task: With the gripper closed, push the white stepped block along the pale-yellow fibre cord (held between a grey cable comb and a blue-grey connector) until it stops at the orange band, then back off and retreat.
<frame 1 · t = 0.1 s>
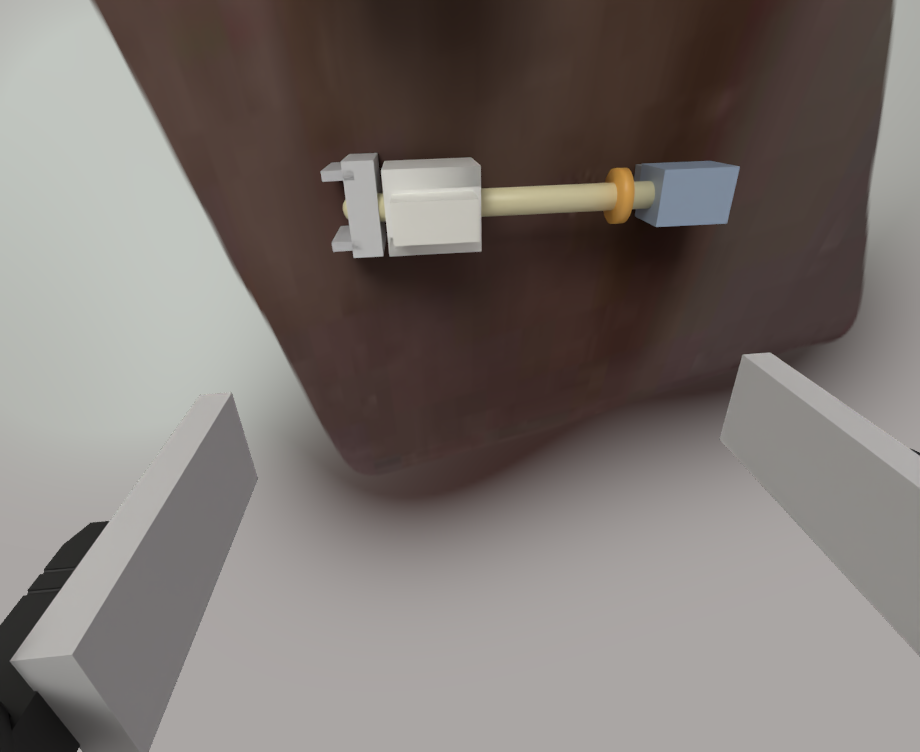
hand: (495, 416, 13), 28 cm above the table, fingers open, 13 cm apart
white stepped block: (432, 209, 32), point 5 cm above the table, slide at 0.0 cm
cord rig: (516, 191, 37), on the table
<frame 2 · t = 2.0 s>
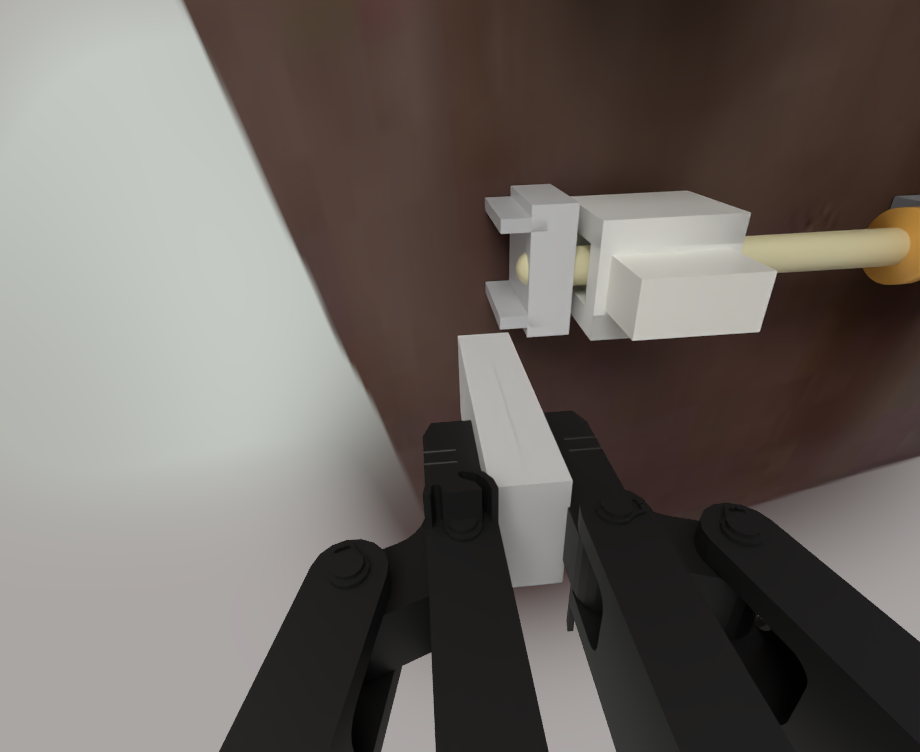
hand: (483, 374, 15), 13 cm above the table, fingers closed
white stepped block: (655, 271, 22), point 5 cm above the table, slide at 0.0 cm
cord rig: (727, 233, 27), on the table
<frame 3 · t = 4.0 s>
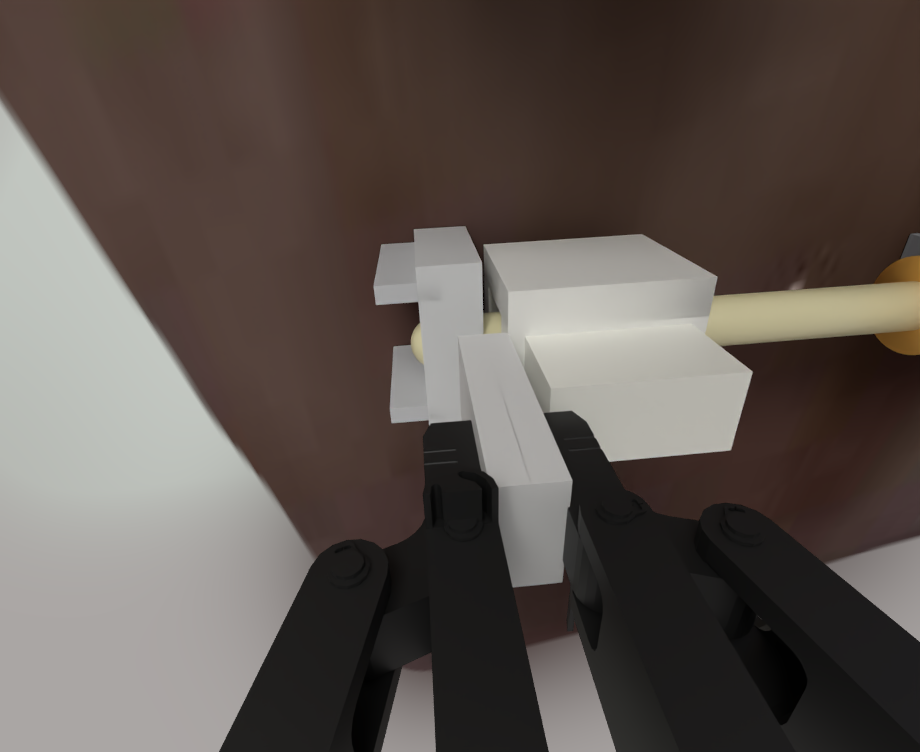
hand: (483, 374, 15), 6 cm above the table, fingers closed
white stepped block: (593, 350, 16), point 5 cm above the table, slide at 0.0 cm, touching gripper
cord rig: (699, 282, 21), on the table
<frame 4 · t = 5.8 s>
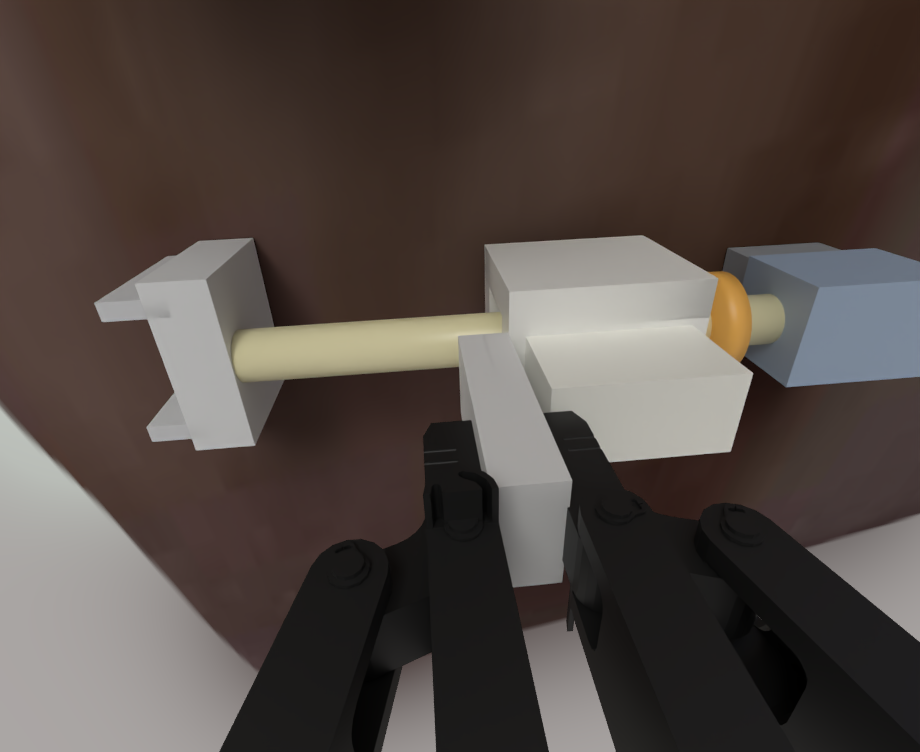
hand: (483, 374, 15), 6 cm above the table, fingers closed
white stepped block: (593, 351, 16), point 6 cm above the table, slide at 8.1 cm, touching gripper
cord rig: (513, 296, 21), on the table
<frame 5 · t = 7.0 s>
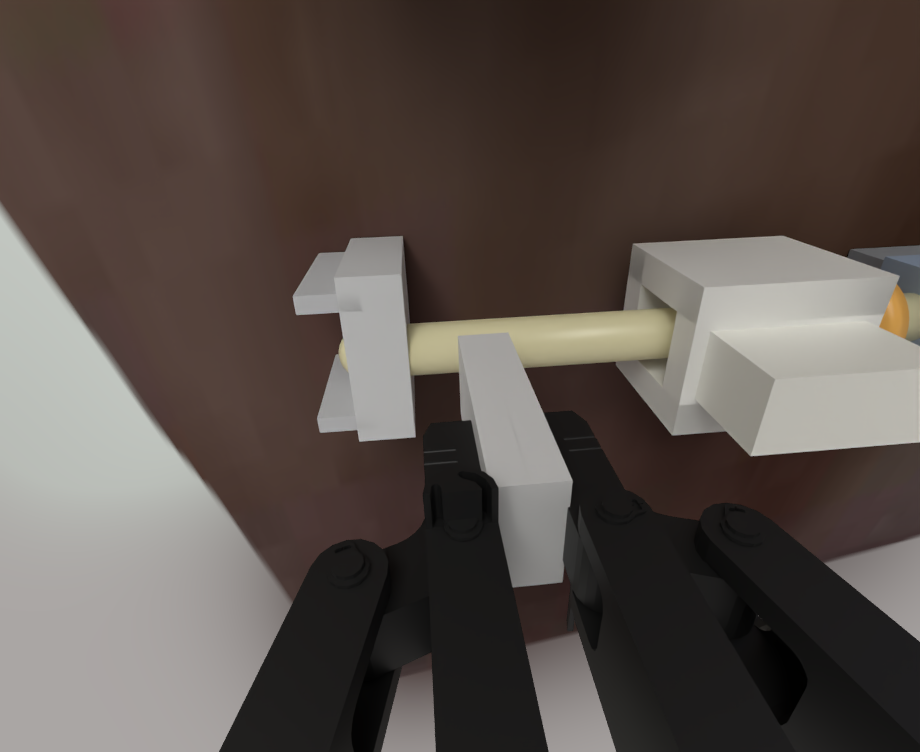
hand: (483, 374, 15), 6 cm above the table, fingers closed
white stepped block: (757, 346, 17), point 5 cm above the table, slide at 8.2 cm
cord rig: (641, 294, 21), on the table
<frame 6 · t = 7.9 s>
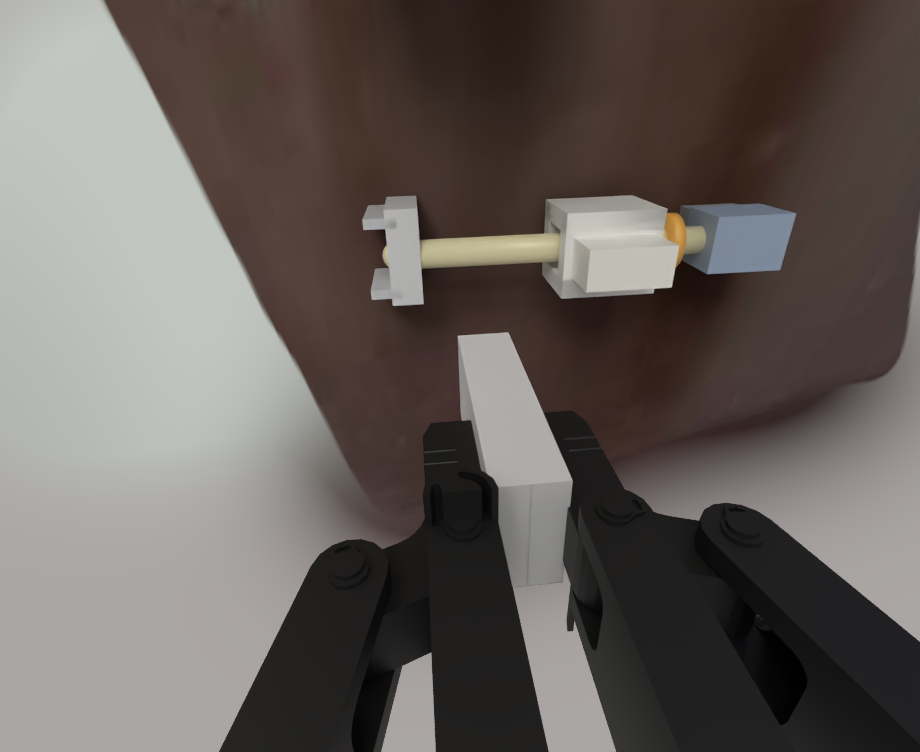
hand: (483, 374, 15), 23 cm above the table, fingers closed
white stepped block: (606, 250, 31), point 6 cm above the table, slide at 8.2 cm
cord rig: (557, 232, 36), on the table
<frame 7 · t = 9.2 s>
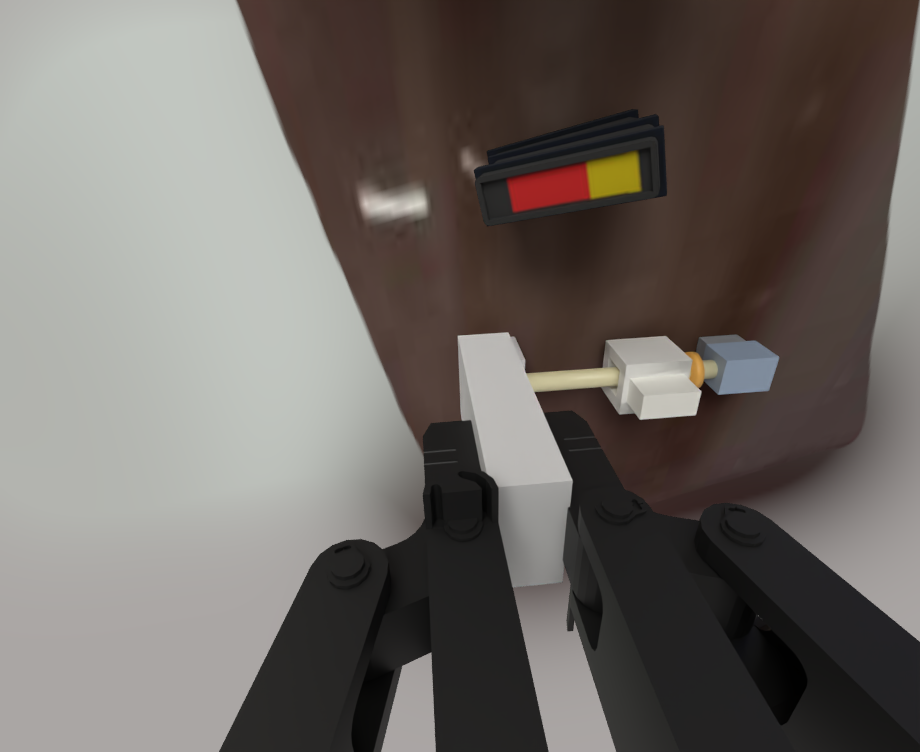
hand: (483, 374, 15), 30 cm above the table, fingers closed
white stepped block: (649, 382, 46), point 6 cm above the table, slide at 8.2 cm
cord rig: (610, 356, 50), on the table
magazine: (541, 157, 41), on the table
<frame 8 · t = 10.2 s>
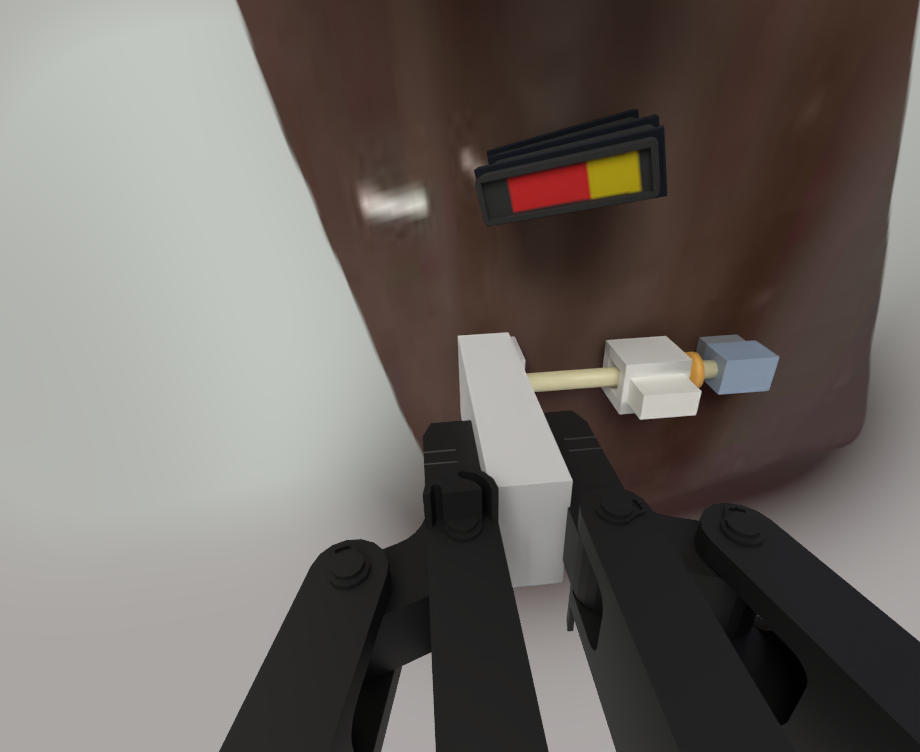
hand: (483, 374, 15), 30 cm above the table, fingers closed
white stepped block: (650, 381, 46), point 5 cm above the table, slide at 8.2 cm
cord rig: (611, 356, 50), on the table
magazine: (542, 157, 41), on the table
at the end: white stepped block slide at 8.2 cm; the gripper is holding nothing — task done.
